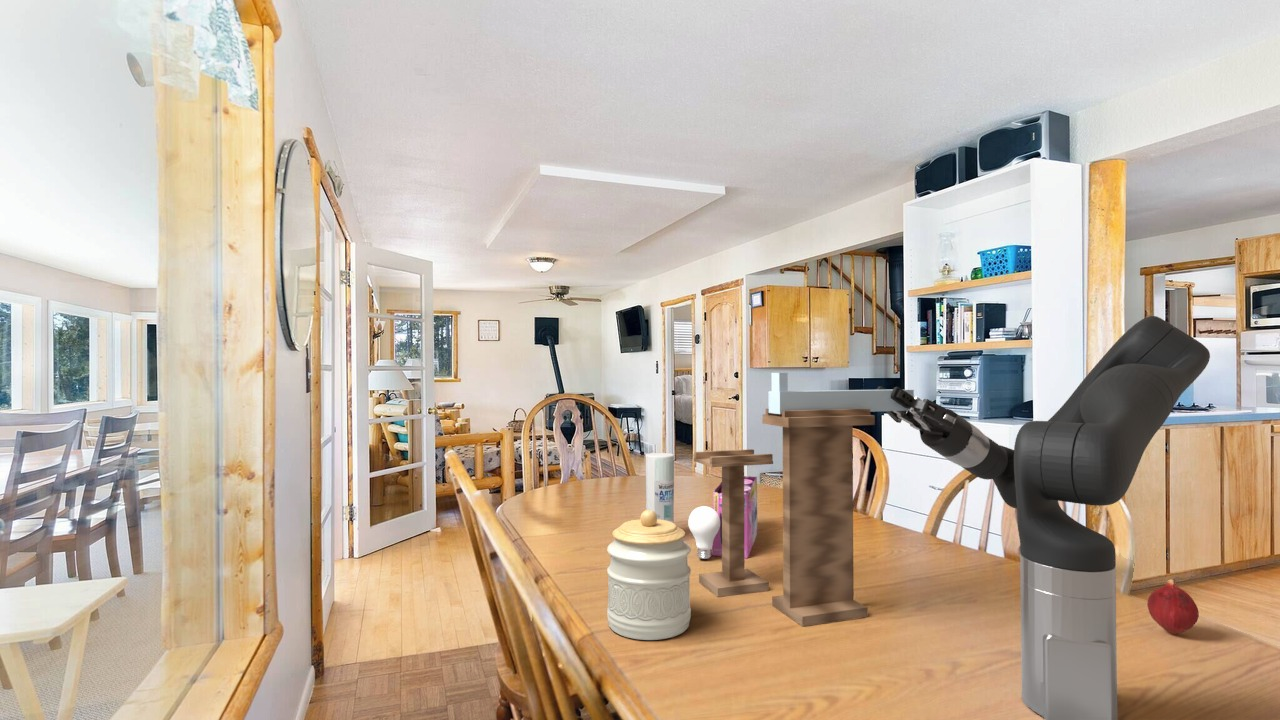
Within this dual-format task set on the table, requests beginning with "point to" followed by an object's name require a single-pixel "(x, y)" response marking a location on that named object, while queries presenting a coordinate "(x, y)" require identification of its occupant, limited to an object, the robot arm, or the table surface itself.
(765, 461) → the rest post
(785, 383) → the hook bar
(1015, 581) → the table surface
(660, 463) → the spray can
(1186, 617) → the onion
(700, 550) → the light bulb
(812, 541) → the shelf stand
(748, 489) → the gum box
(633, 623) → the jar
